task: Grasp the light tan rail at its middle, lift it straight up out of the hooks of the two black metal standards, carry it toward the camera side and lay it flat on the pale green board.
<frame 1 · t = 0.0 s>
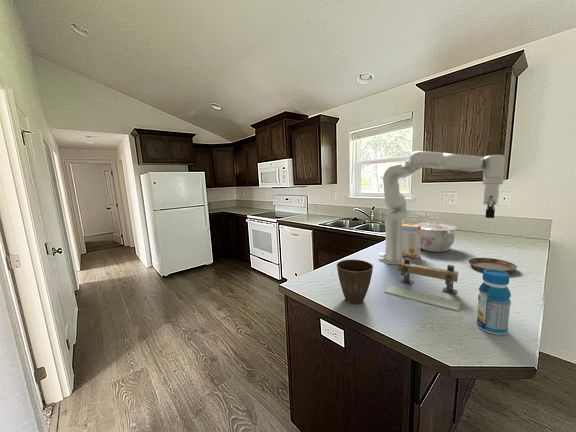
hand: (489, 216, 121), 31 cm above the counter, tool pointing down, fingers open, 9 cm apart
rail: (426, 274, 114), point 7 cm above the counter, touching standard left, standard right
beverage bottle: (491, 328, 84), on the counter
cracker box: (407, 256, 164), on the counter
chamber pot: (433, 249, 175), on the counter
board: (420, 297, 107), on the counter
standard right: (449, 291, 112), on the counter
plant saucer: (491, 269, 136), on the counter
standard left: (406, 282, 123), on the counter
plant pot: (354, 300, 107), on the counter
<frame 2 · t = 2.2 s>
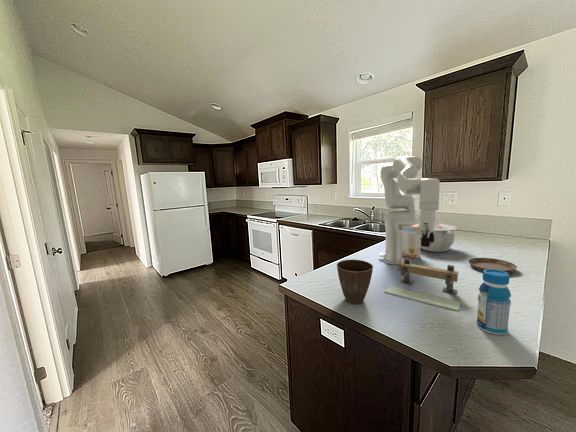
hand: (427, 244, 112), 22 cm above the counter, tool pointing down, fingers open, 9 cm apart
nothing on the counter moved.
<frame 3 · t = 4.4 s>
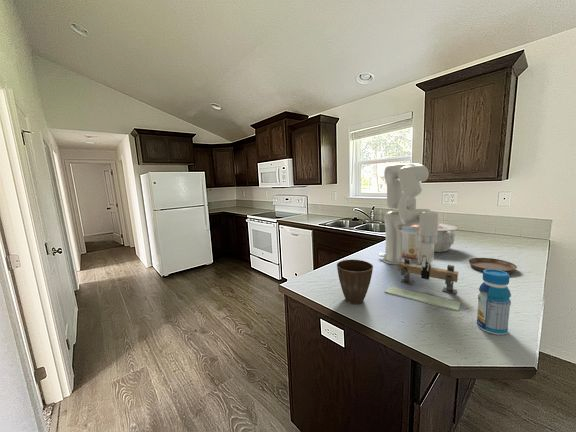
hand: (426, 276, 114), 6 cm above the counter, tool pointing down, fingers closed on rail, 3 cm apart
rail: (426, 274, 114), point 7 cm above the counter, touching gripper, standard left, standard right
everything else where it was.
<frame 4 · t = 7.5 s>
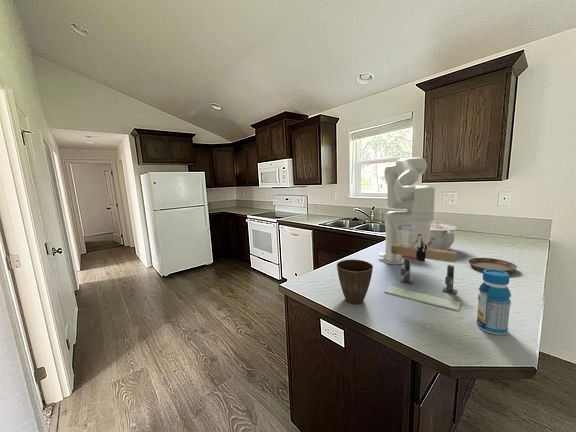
hand: (421, 258, 104), 18 cm above the counter, tool pointing down, fingers closed on rail, 3 cm apart
rail: (421, 256, 104), point 19 cm above the counter, touching gripper
everything else where it was.
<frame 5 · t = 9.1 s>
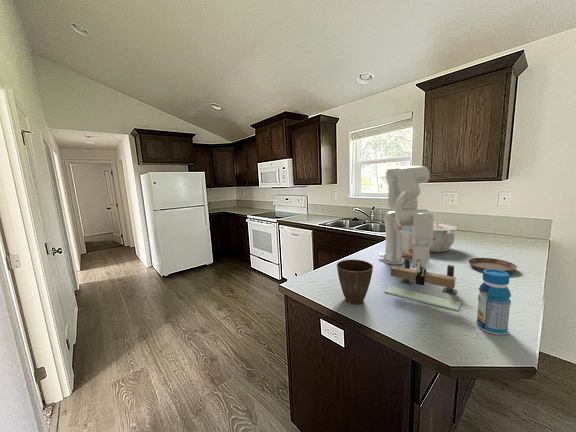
hand: (421, 282, 106), 7 cm above the counter, tool pointing down, fingers closed on rail, 3 cm apart
rail: (421, 280, 106), point 8 cm above the counter, touching gripper
everything else where it was.
when the fingers open (1 cm above the counter, at t = 10.6 s): rail drops 2 cm, resting on board.
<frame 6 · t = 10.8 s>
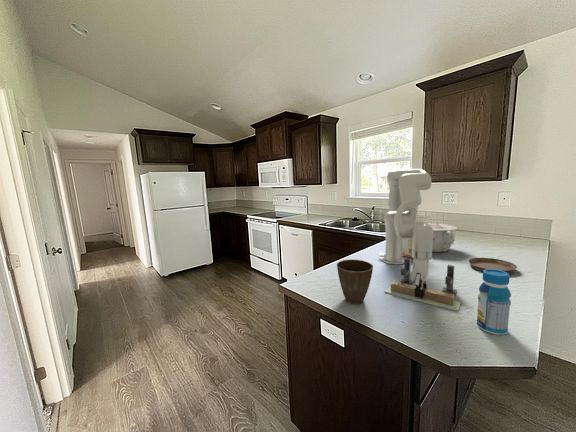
hand: (420, 294, 107), 2 cm above the counter, tool pointing down, fingers open, 5 cm apart
rail: (420, 296, 107), point 1 cm above the counter, touching board
everything else where it was.
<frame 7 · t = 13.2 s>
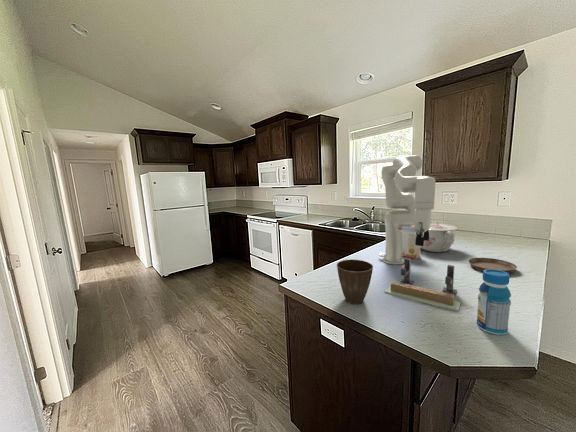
hand: (422, 242, 111), 22 cm above the counter, tool pointing down, fingers open, 9 cm apart
nothing on the counter moved.
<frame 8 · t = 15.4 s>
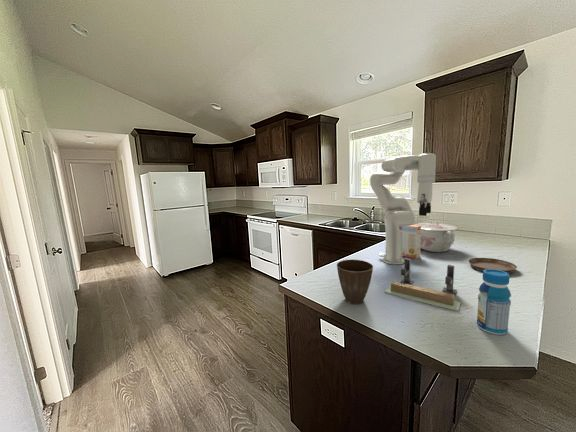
hand: (424, 214, 123), 33 cm above the counter, tool pointing down, fingers open, 9 cm apart
nothing on the counter moved.
at the end: rail inside the target area on the board (0.2 cm from its centre), point 0.6 cm above the board's base; rail tilted 0°; the gripper is holding nothing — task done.
